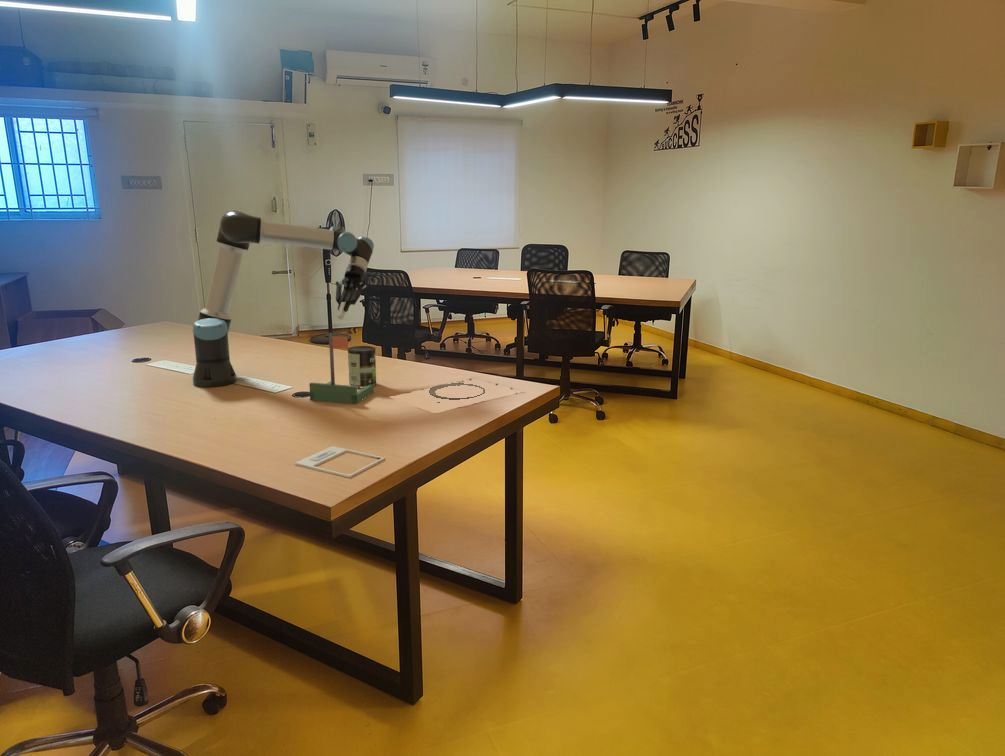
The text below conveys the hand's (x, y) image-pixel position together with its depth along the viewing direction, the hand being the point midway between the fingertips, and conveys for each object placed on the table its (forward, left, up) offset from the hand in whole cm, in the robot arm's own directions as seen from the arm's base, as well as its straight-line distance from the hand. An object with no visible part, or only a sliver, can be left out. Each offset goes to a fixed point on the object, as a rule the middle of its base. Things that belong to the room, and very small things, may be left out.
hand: (339, 317), depth 257 cm
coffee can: (-2, -16, -24) cm, 29 cm away
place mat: (+15, -50, -25) cm, 58 cm away
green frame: (-16, -24, -24) cm, 37 cm away
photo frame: (-53, -77, -24) cm, 96 cm away
